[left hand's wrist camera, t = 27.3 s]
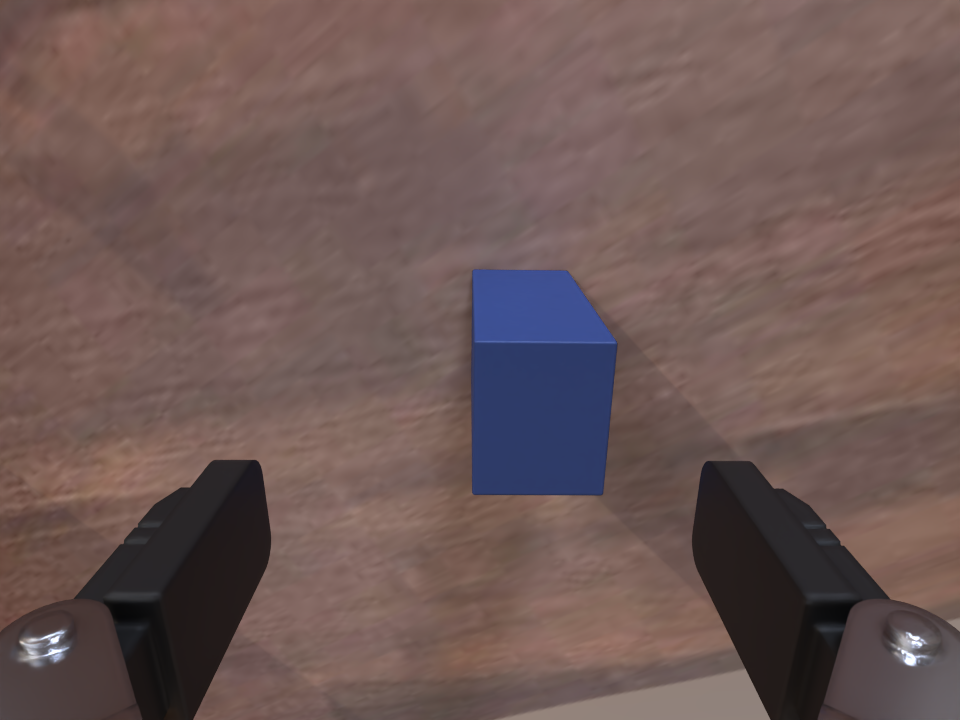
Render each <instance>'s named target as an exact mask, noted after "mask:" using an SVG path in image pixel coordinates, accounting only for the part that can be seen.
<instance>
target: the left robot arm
mask: <svg viewBox="0 0 960 720" xmlns="http://www.w3.org/2000/svg"><path fill="white" fill-rule="evenodd" d="M692 548H693V556H694V561H695V565H696V568H697V570H698V572H699V574H700V576H701V578H702V580H703V583H704V585H705V587H706V589H707V591H708V593H709V595H710V597H711V599H712V601H713V603H714V605H715V607H716V609H717V611H718V613H719V615H720V617H721V619H722V621H723V623H724V625H725V627H726V630H727V632H728V634H729V636H730V638H731V640H732V642H733V644H734V646H735V648H736V650H737V652H738V654H739V656H740V658H741V660H742V662H743V664H744V666H745V668H746V670H747V672H748V674H749V677H750V679H751V681H752V683H753V685H754V687H755V689H756V691H757V693H758V695H759V697H760V699H761V701H762V703H763V705H764V707H765V709H766V711H767V713H768V715H769V717H770V719H771V720H960V632H959V631H958V630H957V629H956V628H955V627H953V626H952V625H950V624H949V623H948V622H946V621H945V620H943V619H941V618H940V617H938V616H936V615H934V614H932V613H930V612H928V611H926V610H924V609H922V608H919V607H917V606H914V605H911V604H908V603H904V602H900V601H896V600H891V599H890V598H889V597H888V596H887V595H886V594H885V592H884V591H883V590H882V589H881V588H880V587H879V586H878V584H877V583H876V582H875V581H874V580H873V579H872V577H871V576H870V575H869V574H868V573H867V572H866V571H865V569H864V568H863V567H862V566H861V565H860V564H859V562H858V561H857V560H856V559H855V558H854V557H853V556H852V554H851V553H850V552H849V551H848V550H847V549H846V547H845V546H841V544H840V541H839V539H838V538H837V537H836V536H835V535H834V534H833V532H832V531H831V530H830V529H826V524H825V523H824V522H823V521H822V520H821V519H820V517H819V516H818V515H817V514H816V513H815V512H814V511H813V509H812V508H811V507H810V506H809V505H808V504H806V503H804V502H803V501H801V500H800V499H798V498H797V497H795V496H793V495H792V494H790V493H789V492H787V491H786V490H784V489H774V488H773V487H772V486H771V485H770V484H769V482H768V481H767V480H766V479H765V477H764V476H763V475H762V474H761V472H760V471H759V470H758V469H757V467H756V466H755V465H754V464H753V463H752V462H750V461H707V462H706V463H705V464H704V465H703V468H702V471H701V477H700V484H699V491H698V498H697V505H696V512H695V519H694V526H693V534H692ZM270 549H271V531H270V524H269V516H268V509H267V502H266V495H265V488H264V481H263V474H262V469H261V466H260V464H259V462H258V461H257V460H213V461H212V462H211V463H210V464H209V465H208V466H207V467H206V469H205V470H204V471H203V472H202V474H201V475H200V476H199V477H198V479H197V480H196V481H195V482H194V484H193V485H192V486H191V487H190V488H180V489H178V490H176V491H175V492H173V493H172V494H170V495H169V496H167V497H165V498H164V499H162V500H161V501H159V502H158V503H156V504H155V505H154V506H153V507H152V508H151V509H150V511H149V512H148V513H147V514H146V515H145V516H144V518H143V519H142V520H141V521H140V522H139V523H138V528H134V529H133V530H132V531H131V533H130V534H129V535H128V536H127V537H126V538H125V540H124V544H120V545H119V547H118V548H117V549H116V550H115V551H114V552H113V554H112V555H111V556H110V557H109V558H108V559H107V561H106V562H105V563H104V564H103V565H102V566H101V568H100V569H99V570H98V571H97V572H96V573H95V575H94V576H93V577H92V578H91V579H90V580H89V582H88V583H87V584H86V585H85V586H84V587H83V589H82V590H81V591H80V592H79V593H78V594H77V596H76V597H75V598H74V599H71V600H64V601H60V602H56V603H52V604H49V605H46V606H43V607H41V608H38V609H36V610H34V611H32V612H30V613H28V614H26V615H24V616H22V617H20V618H19V619H17V620H15V621H14V622H12V623H11V624H10V625H8V626H7V627H5V628H4V629H3V630H2V631H1V632H0V720H193V718H194V716H195V714H196V712H197V710H198V708H199V706H200V704H201V702H202V700H203V698H204V696H205V694H206V692H207V690H208V687H209V685H210V683H211V681H212V679H213V677H214V675H215V673H216V671H217V669H218V667H219V665H220V663H221V661H222V658H223V656H224V654H225V652H226V650H227V648H228V646H229V644H230V642H231V640H232V638H233V636H234V634H235V632H236V630H237V627H238V625H239V623H240V621H241V619H242V617H243V615H244V613H245V611H246V609H247V607H248V605H249V603H250V601H251V598H252V596H253V594H254V592H255V590H256V588H257V586H258V584H259V582H260V580H261V578H262V576H263V574H264V572H265V569H266V567H267V564H268V560H269V556H270Z"/></svg>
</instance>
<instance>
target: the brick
mask: <svg viewBox="0 0 960 720" xmlns="http://www.w3.org/2000/svg"><path fill="white" fill-rule="evenodd" d="M616 353H617V342H616V340H615V339H614V337H613V336H612V335H611V333H610V332H609V330H608V329H607V327H606V326H605V324H604V323H603V321H602V320H601V319H600V317H599V316H598V314H597V313H596V311H595V310H594V308H593V307H592V306H591V304H590V303H589V301H588V300H587V298H586V297H585V295H584V294H583V293H582V291H581V290H580V288H579V287H578V285H577V284H576V282H575V281H574V279H573V278H572V277H571V275H570V274H569V272H568V271H552V270H473V271H472V362H471V399H472V493H473V494H474V495H602V494H603V489H604V478H605V468H606V458H607V447H608V437H609V426H610V416H611V405H612V395H613V384H614V374H615V363H616Z"/></svg>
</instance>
